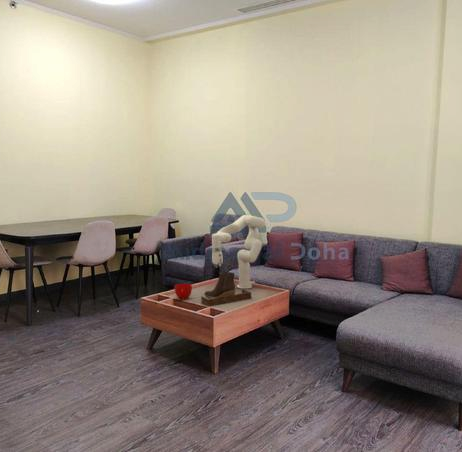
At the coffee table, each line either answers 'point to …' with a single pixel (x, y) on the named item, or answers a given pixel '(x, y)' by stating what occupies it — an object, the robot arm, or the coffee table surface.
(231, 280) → the boot
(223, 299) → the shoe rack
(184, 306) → the coffee table surface
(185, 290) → the ceramic cup
